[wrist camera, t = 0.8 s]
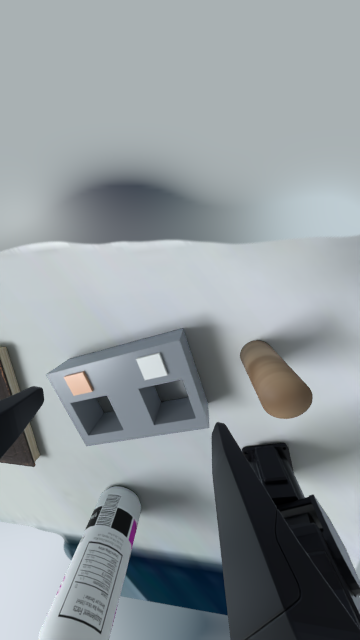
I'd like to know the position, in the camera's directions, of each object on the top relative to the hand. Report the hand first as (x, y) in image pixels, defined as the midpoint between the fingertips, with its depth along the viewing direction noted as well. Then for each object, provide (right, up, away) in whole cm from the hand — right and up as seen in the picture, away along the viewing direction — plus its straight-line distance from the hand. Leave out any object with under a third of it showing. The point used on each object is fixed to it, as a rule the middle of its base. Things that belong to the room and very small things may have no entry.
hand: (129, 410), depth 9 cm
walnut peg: (+12, 0, +13) cm, 18 cm away
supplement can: (-9, -30, +25) cm, 40 cm away
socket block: (-4, -4, +16) cm, 17 cm away
